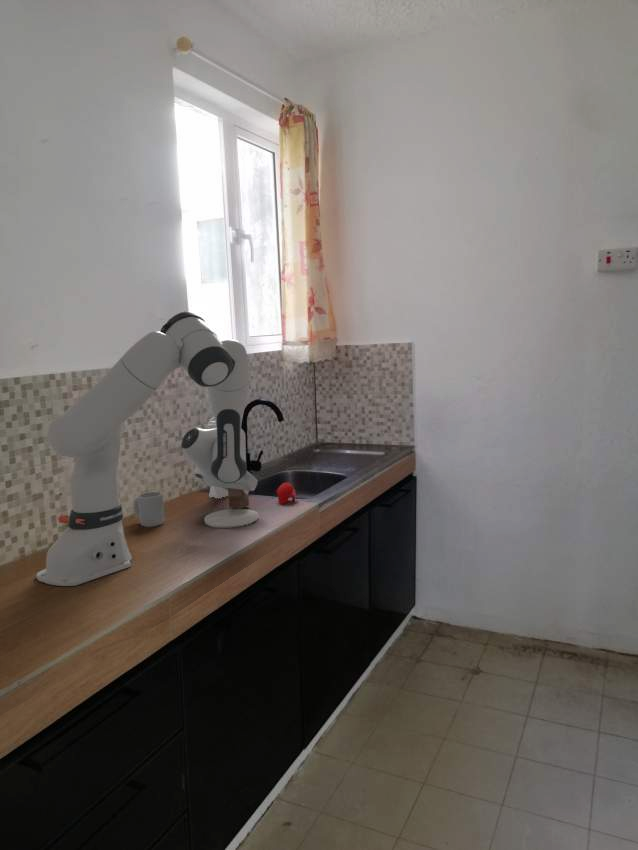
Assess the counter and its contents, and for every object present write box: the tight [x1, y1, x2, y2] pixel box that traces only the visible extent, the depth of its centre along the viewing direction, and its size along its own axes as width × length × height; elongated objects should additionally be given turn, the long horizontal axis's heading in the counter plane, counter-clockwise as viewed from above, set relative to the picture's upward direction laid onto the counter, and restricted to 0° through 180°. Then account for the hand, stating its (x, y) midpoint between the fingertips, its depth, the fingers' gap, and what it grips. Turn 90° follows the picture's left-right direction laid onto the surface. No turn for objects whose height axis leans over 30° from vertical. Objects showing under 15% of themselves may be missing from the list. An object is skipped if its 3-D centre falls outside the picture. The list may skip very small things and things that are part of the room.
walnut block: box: [227, 488, 250, 509], centre depth 201 cm, size 4×4×8 cm
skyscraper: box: [205, 416, 229, 500], centre depth 216 cm, size 8×8×28 cm
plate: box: [204, 508, 259, 529], centre depth 188 cm, size 16×16×1 cm
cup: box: [133, 491, 166, 528], centre depth 188 cm, size 7×10×9 cm
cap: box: [276, 482, 297, 505], centre depth 206 cm, size 8×6×6 cm
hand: (239, 491), depth 201 cm, fingers closed on walnut block, 5 cm apart
